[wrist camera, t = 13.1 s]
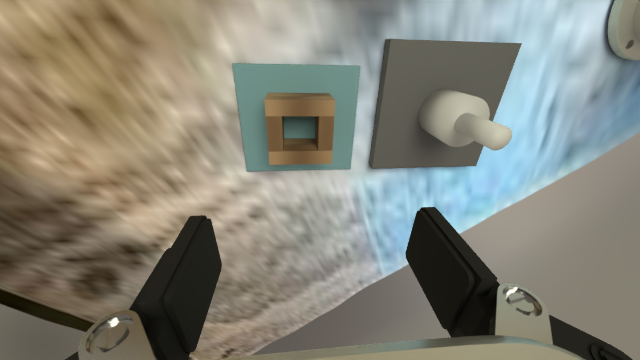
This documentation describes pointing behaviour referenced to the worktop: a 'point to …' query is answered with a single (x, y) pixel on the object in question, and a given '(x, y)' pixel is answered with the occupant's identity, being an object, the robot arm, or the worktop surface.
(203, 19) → the worktop surface
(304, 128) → the mat
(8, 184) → the worktop surface
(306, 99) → the walnut link
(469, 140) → the stand
